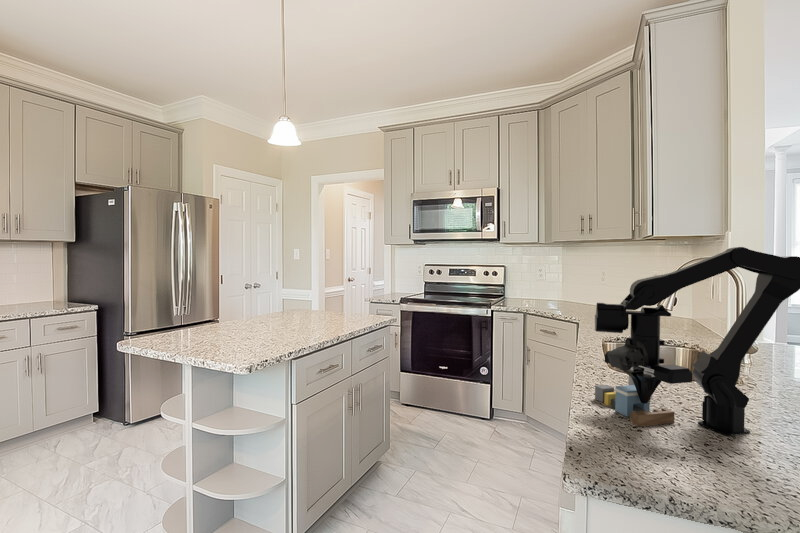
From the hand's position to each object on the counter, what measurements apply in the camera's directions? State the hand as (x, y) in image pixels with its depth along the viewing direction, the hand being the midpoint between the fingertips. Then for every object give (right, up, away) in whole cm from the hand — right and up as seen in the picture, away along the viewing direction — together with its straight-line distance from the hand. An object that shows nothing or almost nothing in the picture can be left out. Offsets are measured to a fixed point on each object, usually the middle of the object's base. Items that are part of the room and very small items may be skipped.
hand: (643, 403), depth 92 cm
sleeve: (-1, -4, +3) cm, 5 cm away
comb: (+1, -4, -2) cm, 4 cm away
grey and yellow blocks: (-1, -3, +5) cm, 7 cm away
